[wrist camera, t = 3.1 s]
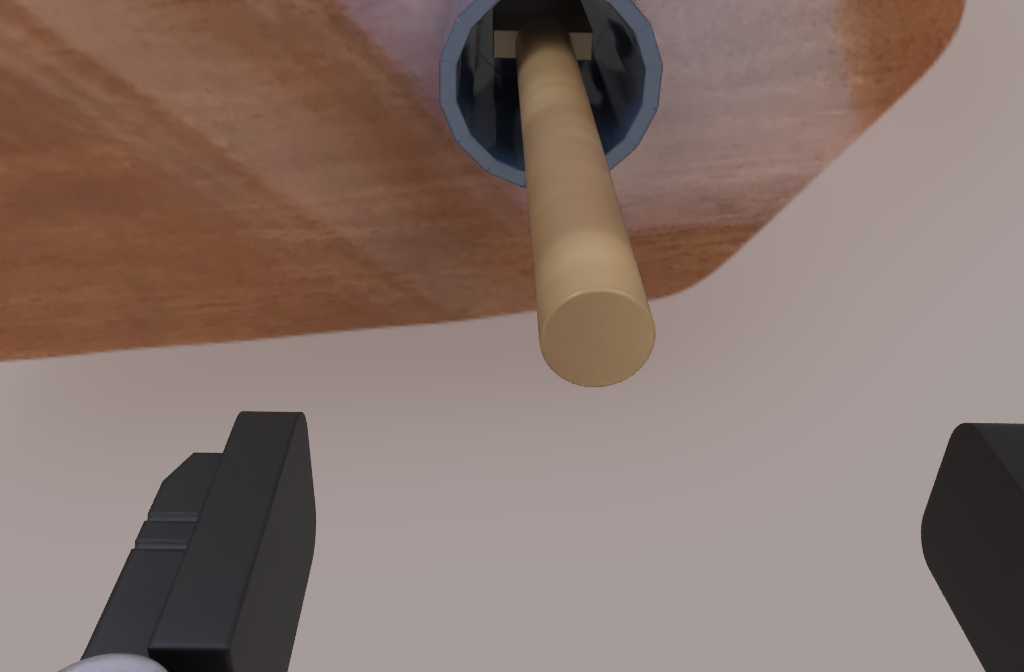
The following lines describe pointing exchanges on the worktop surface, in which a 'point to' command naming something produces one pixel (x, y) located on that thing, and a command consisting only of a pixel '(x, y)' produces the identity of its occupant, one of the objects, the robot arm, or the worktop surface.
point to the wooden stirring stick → (572, 202)
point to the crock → (495, 96)
